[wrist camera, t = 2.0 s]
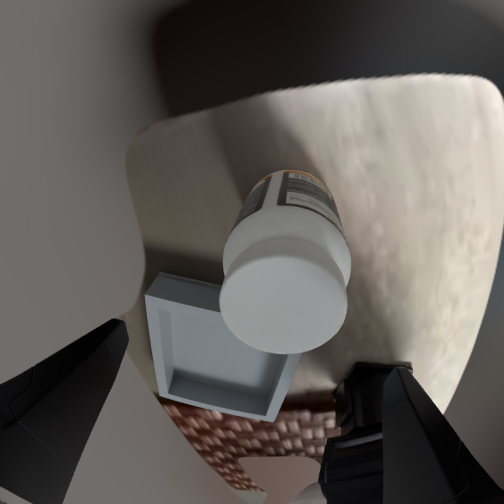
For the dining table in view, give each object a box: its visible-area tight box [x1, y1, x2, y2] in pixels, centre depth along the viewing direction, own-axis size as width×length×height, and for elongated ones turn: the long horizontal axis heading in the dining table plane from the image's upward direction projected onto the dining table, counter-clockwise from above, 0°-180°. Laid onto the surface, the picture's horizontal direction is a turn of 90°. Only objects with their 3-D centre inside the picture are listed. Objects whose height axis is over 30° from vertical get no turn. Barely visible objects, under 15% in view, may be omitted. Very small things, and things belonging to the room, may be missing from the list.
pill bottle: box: [219, 170, 351, 354], centre depth 15 cm, size 6×6×10 cm
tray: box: [145, 272, 303, 422], centre depth 25 cm, size 12×14×3 cm
